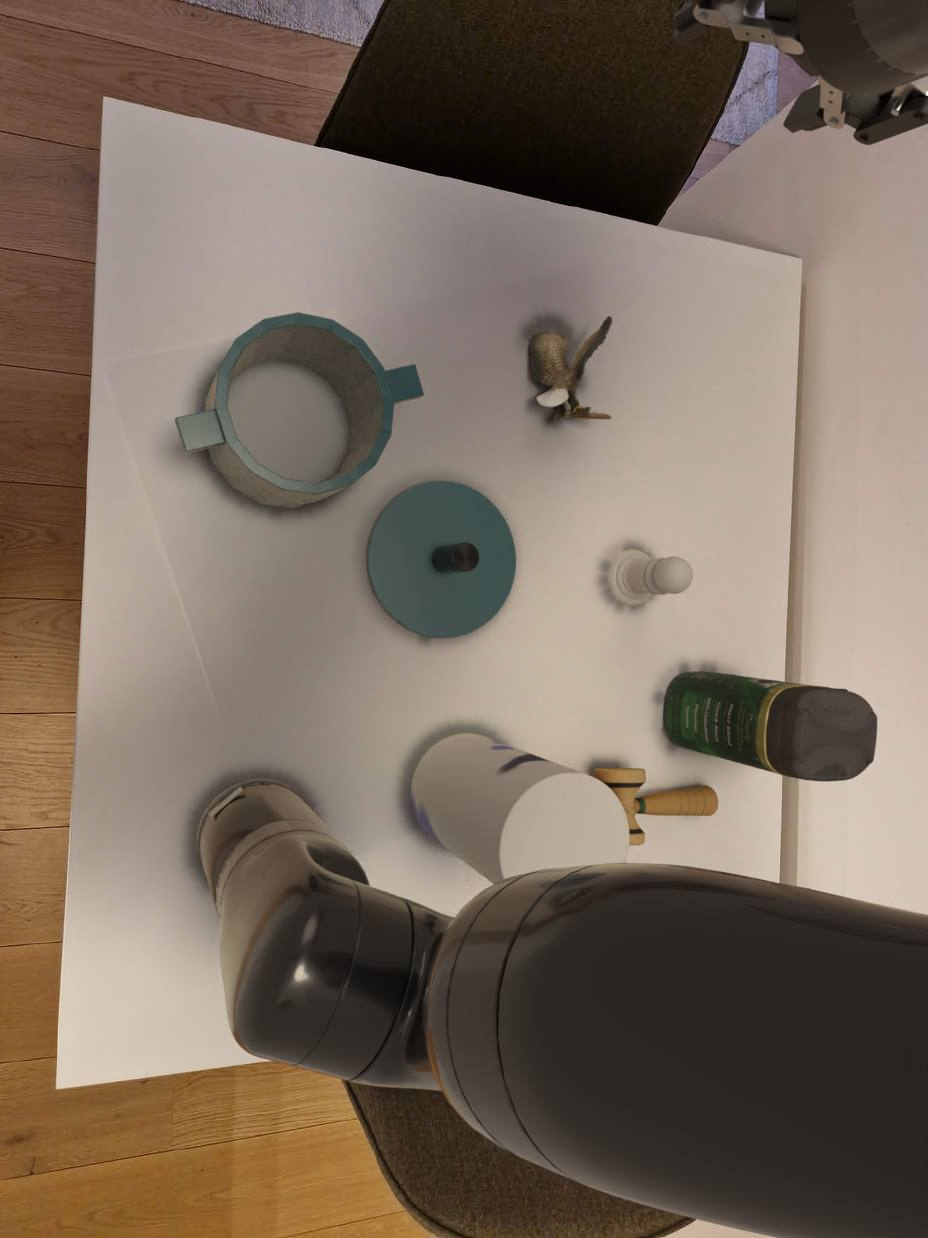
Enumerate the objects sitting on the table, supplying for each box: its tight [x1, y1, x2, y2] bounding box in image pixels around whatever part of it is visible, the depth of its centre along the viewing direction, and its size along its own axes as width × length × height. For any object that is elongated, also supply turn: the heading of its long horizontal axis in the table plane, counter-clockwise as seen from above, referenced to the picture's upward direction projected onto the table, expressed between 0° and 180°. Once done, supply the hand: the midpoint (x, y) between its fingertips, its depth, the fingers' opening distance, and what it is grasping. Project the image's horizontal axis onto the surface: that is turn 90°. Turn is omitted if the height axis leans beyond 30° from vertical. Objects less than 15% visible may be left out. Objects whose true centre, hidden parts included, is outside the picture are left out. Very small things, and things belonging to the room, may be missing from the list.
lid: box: [366, 480, 517, 639], centre depth 75 cm, size 14×14×6 cm
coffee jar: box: [663, 671, 878, 783], centre depth 79 cm, size 10×8×19 cm
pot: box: [174, 311, 425, 509], centre depth 67 cm, size 13×18×10 cm
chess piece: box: [607, 549, 694, 607], centre depth 80 cm, size 5×5×9 cm
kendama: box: [592, 767, 719, 846], centre depth 82 cm, size 8×6×18 cm
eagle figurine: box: [528, 315, 613, 421], centre depth 79 cm, size 8×7×9 cm
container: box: [410, 732, 630, 885], centre depth 69 cm, size 10×10×20 cm
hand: (741, 70), depth 51 cm, fingers open, 8 cm apart
